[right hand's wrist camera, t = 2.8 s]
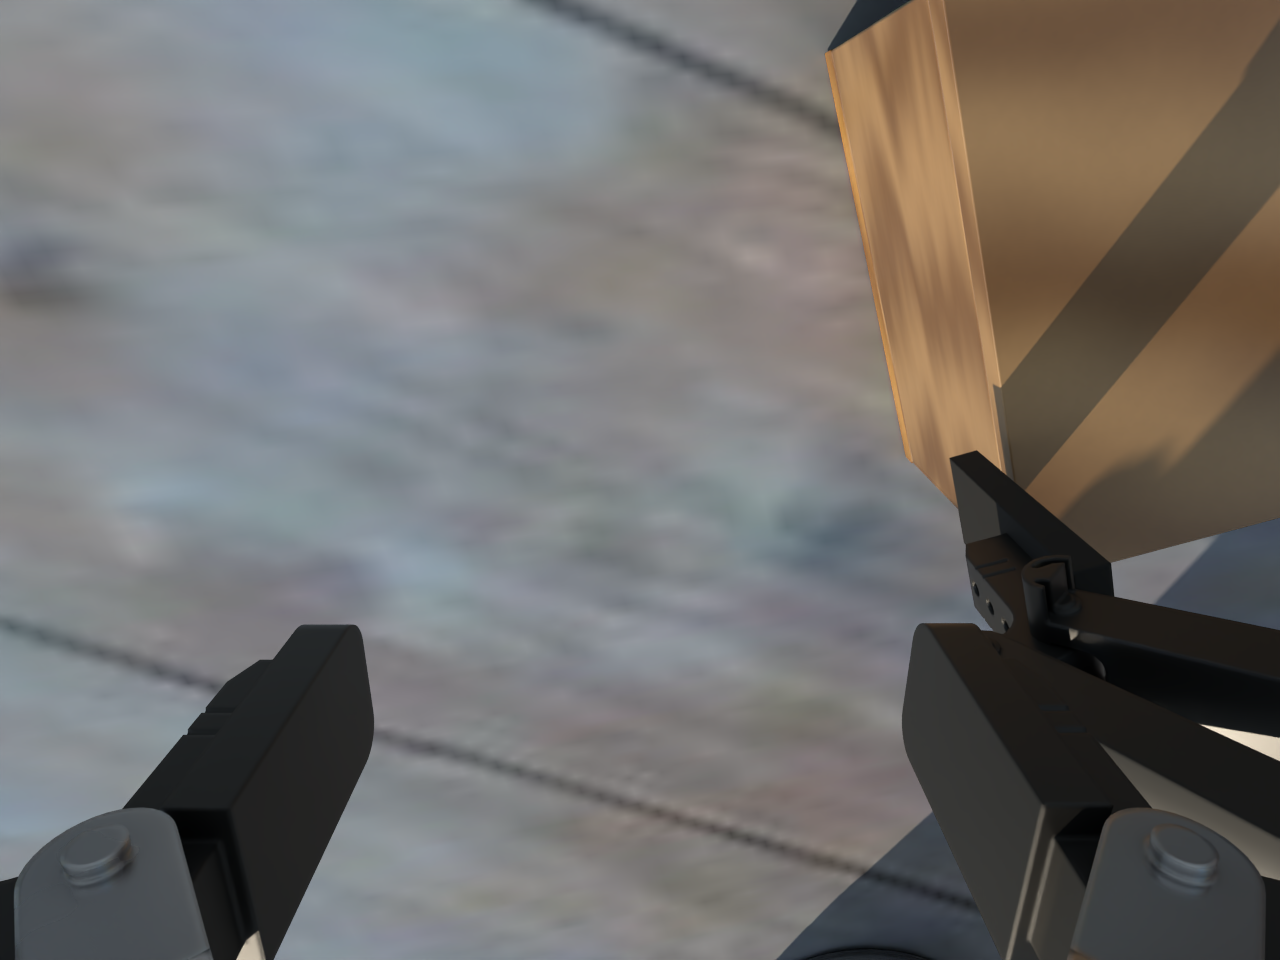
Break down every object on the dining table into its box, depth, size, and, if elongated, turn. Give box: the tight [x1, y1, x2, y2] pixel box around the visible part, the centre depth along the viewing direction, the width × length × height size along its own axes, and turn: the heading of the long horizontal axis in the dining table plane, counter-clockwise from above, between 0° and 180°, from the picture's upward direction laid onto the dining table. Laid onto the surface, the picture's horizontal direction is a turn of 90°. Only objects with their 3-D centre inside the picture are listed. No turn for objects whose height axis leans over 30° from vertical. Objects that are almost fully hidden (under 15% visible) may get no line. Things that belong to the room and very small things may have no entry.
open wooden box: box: [825, 0, 1280, 563], centre depth 25 cm, size 16×11×11 cm
